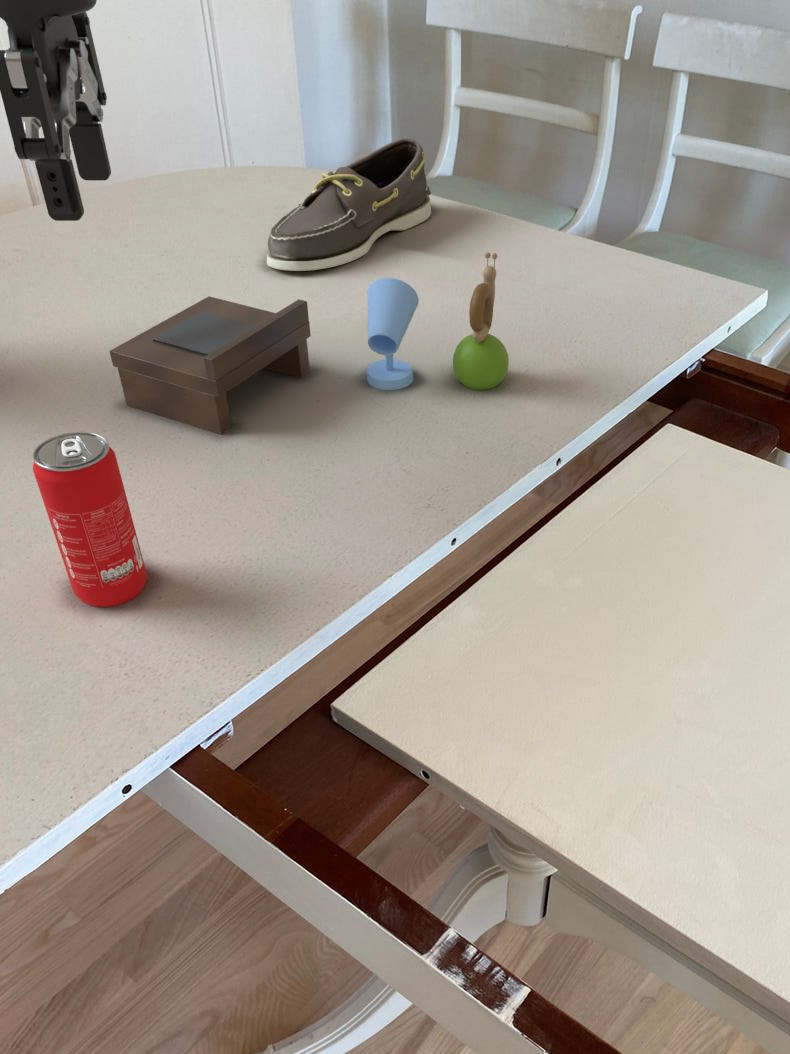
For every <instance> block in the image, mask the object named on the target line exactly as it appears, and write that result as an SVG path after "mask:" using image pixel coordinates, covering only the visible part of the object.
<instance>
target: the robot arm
mask: <svg viewBox="0 0 790 1054" xmlns="http://www.w3.org/2000/svg"><path fill="white" fill-rule="evenodd" d="M97 1H98V0H0V19H1V20H3V21H4V22H5V24H6V27H7V35H8V41H9V42H8V43H9V47H8V48H7V49H0V96H1V99H2V103H3V108H4V112H5V116H6V119H7V123H8V127H9V131H10V135H11V139H12V143H13V148H14V152H15V154H16V156H17V158H18V160H29V161H30V162H34V165H35V168H36V173H37V176H38V177H37V178H38V181H39V184H40V188H41V191H42V195H43V199H44V202H45V207H46V210H47V214H48V216H49V217H50V218H51V219H52V221H53V220H54V221H56V222H77V221H80V220H81V219H82V218H83V216H84V214H85V207H84V205H83V204H84V203H83V200H82V196H81V192H80V188H79V184H78V179H77V175H76V172H75V168H74V163H73V160H72V158H71V157H72V156H71V155H72V151H73V155H74V159H75V164H76V168H77V171H78V175H79V177H80V178H81V179H82V180H84V181H100V182H101V181H103V182H104V181H107V180H108V179H109V178H110V177H111V175H112V168H111V164H110V161H109V155H108V154H109V153H108V151H107V145H106V141H105V137H104V136H105V135H104V132H103V131H104V130H103V127H102V122H103V120H104V110H103V108H102V106H106V105H107V100H108V97H107V93H106V91H105V86H104V82H103V77H102V72H101V68H100V64H99V59H98V55H97V51H96V47H95V43H94V38H93V34H92V29H91V21H90V18H89V16H88V13H87V12H88V11H91V10H92V9H93V8H94V7H96V4H97ZM40 128H41V130H42V134H43V137H40V132H39V131H40ZM71 147H72V151H71Z"/></svg>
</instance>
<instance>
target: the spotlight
mask: <svg viewBox="0 0 790 1054" xmlns="http://www.w3.org/2000/svg"><path fill="white" fill-rule="evenodd" d="M366 292H367V295H366V296H367V297H366V298H367V299H366V300H367V345H368V347H369V349H370V350H371V351H373V353H376V354H378V355H382V356H384V359H383V360H382V359H381V360H377V361H374V362H373V363H371V364H369V365H368V367H366V380H367V383H368V384H369V385H370V386H371V387H372V388H375V389H379V390H382V391H383V390H384V391H395V390H401V389H404V388H406V387H409V386H410V385H411V384H412V383H413V382H414V376H413V375H414V371H413V366H411V365H410V364H409V363H408V362H406V361H403V360H399V359H394V354H396V353H397V352H398V350H399V348H400V346H401V344H402V341H403V340H404V337H405V335H406V333H407V330H408V328H409V325H410V323H411V321H412V319H413V317H414V314H415V312H416V310H417V308H418V306H419V296H418V293H417V291H416V290H415V289H414V288H413V286H411V285H410V284H409V283H407V282H405V281H403V280H402V279H398V278H394V277H381V278H377V279H376V280H373V281H372V282H371V283H370V284H369V285H368V288H367V291H366Z"/></svg>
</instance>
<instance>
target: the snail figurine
mask: <svg viewBox="0 0 790 1054" xmlns="http://www.w3.org/2000/svg"><path fill="white" fill-rule="evenodd" d="M484 257H485V258H486V267H485V268H484V269H483V271H482V278H483V282H481V283H479V284H477V285H476V286H475V288H474V290H473V293H472V295H471V299H470V301H469V309H468V310H469V312H468V315H469V318H468V319H469V325H470V328H471V330H472V331H473V333H471V334H469V335H466V336H465V337H463V339H461V340H460V342H459V343H458V344H457V345H456V347H455V349H454V352H453V354H452V355H453V356H452V368H453V371H454V374H455V376H456V378H457V380H458V381H459V382H460V383H461V384H462V385H463V386H465V387H466V388H468V389H471V390H475V391H485V390H486V391H487V390H491V389H494V388H495V387H497V386H498V385H499V384H500V383H502V381H503V380H504V379H505V377H506V375H507V373H508V370H509V362H510V360H509V354H508V351H507V348H506V346H505V345H504V344H503V342H502V341H501V340H500V339H499V338H498V337H497V336H495V335H493V334H492V333H491V334H490V333H489V332H490V329H491V328H492V323H493V318H494V306H495V305H494V304H495V299H496V298H495V297H496V278H497V270H496V259H497V258H498V254H497V253H496V252H493V253H492V254H491V253H490V252H489V251H486V252H485V253H484ZM490 258H492V260H493V265H489V259H490Z"/></svg>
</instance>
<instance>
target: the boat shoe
mask: <svg viewBox="0 0 790 1054" xmlns="http://www.w3.org/2000/svg"><path fill="white" fill-rule="evenodd" d="M423 149H424V148H423V147H422V146H421V144H420V143H419V142H418V141H417V140H416V139H414V138H411V137H403V138H400V139H396V140H394V141H392V142H389V143H387V144H385V145H383V146H381V147H380V148H377V149H376V150H374V151H372V152H370V153H368V154H366V155H364V156H362V157H360V158H359V159H357V160H355V161H354V162H351V163H350V164H348V165H346V166H341V167H338V168H337V169H336V171H335V172H333V171H331V170H330V171H329V172H327V173H325V172H321V176H322V179H321V180H319V181H317V183H316V184H314V187H313V189H312V191H311V192H310V194H308V196H307V197H305V198H304V200H303V202H302V203H299V204H298V206H297V207H295V208H293V209H292V210H291V211H289V212H288V213H286V215H284V216H282V217H281V218H280V219H279V220H278V221H277V222H276V223H275V224H274V225H273V227H271V229H270V233H269V236H268V239H267V248H268V251H269V252H268V253H267V255H266V265H267V266H268V267H270V268H272V269H276V270H280V271H290V272H291V271H292V272H293V271H294V272H302V271H303V272H304V271H305V272H306V271H316V270H324V269H329V268H333V267H337V266H341V265H345V264H347V263H348V264H349V263H350V262H352V261H355V260H357V259H359V258H361V257H363V256H365V255H366V254H367V253H368V252H370V249H371V247H372V245H373V244H374V243H375V241H376V240H378V238H380V237H382V235H384V234H386V233H388V232H390V231H401V232H402V231H406V230H408V229H412V228H413V227H415V226H417V225H419V224H421V223H423V222H425V221H426V220H428V219H429V218H430V216H431V214H432V207H431V205H432V203H431V198H430V195H431V194H432V191H431V190H430V187H429V186H428V185H427V184H428V183H427V175H426V173H425V164H426V163H425V162H426V156H425V153H424V150H423Z"/></svg>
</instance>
